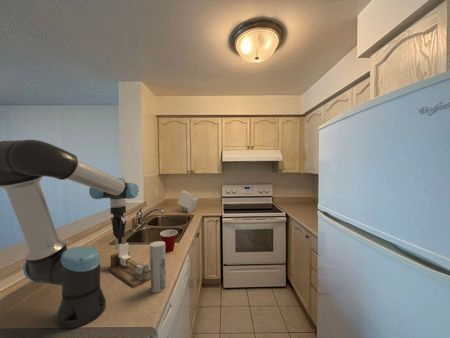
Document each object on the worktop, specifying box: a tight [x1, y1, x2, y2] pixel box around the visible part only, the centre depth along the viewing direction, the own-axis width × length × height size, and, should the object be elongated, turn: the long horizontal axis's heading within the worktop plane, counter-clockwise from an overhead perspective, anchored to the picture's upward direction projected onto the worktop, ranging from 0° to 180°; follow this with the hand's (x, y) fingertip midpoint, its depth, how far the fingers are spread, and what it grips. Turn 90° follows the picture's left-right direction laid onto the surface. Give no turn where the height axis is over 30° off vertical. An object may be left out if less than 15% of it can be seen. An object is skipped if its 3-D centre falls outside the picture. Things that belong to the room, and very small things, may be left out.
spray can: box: [149, 240, 167, 294], centre depth 92 cm, size 6×6×20 cm
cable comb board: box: [107, 253, 151, 288], centre depth 106 cm, size 12×28×7 cm, turn 52°
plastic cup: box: [159, 229, 178, 253], centre depth 134 cm, size 11×11×12 cm
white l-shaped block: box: [117, 242, 132, 266], centre depth 110 cm, size 5×5×10 cm
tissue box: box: [177, 189, 199, 214], centre depth 247 cm, size 20×16×25 cm
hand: (119, 249), depth 114 cm, fingers closed
